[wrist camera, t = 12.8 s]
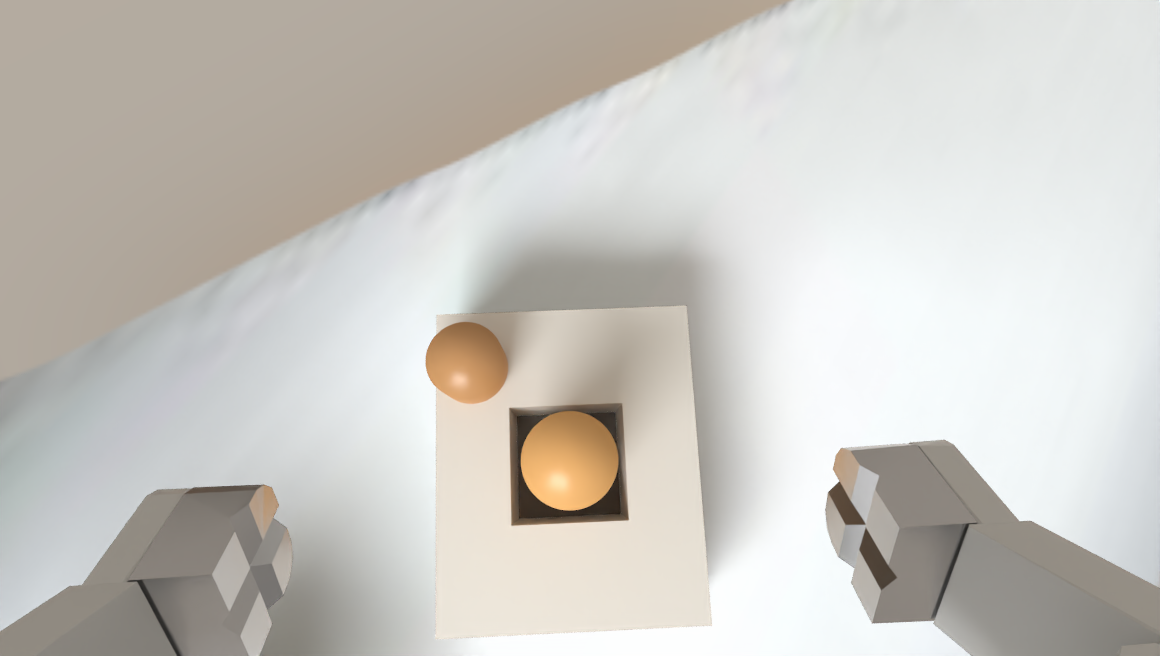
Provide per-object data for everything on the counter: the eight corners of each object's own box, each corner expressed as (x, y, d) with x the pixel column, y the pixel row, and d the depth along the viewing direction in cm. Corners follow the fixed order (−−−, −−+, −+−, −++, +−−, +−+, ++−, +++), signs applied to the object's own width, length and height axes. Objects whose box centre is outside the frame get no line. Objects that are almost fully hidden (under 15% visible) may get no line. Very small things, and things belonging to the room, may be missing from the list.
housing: (454, 615, 28) (423, 654, 22) (453, 335, 30) (426, 302, 24) (692, 604, 28) (724, 639, 22) (671, 326, 30) (696, 292, 25)
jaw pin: (536, 500, 29) (521, 512, 20) (534, 430, 29) (519, 412, 21) (605, 497, 29) (621, 508, 20) (601, 427, 29) (615, 408, 21)
